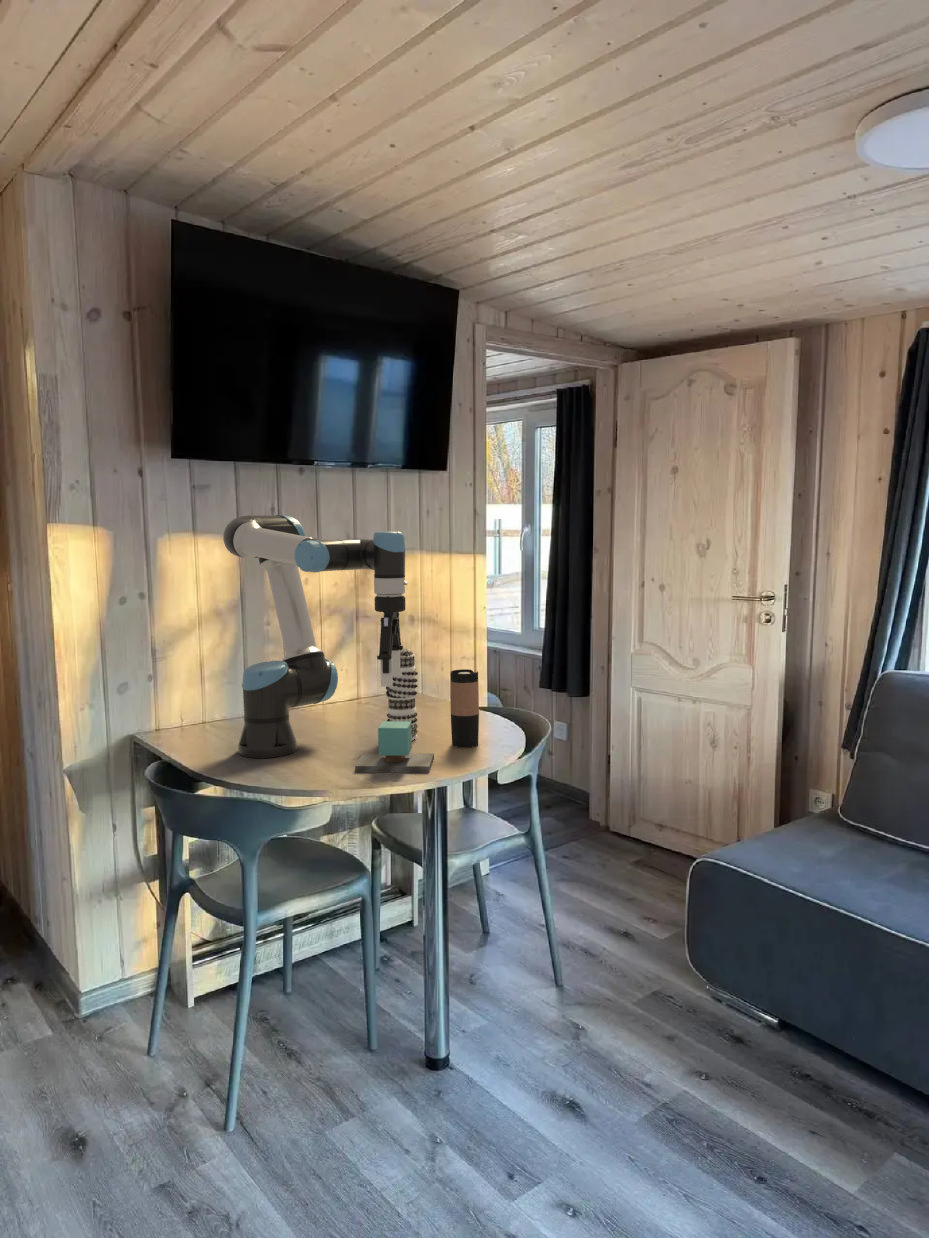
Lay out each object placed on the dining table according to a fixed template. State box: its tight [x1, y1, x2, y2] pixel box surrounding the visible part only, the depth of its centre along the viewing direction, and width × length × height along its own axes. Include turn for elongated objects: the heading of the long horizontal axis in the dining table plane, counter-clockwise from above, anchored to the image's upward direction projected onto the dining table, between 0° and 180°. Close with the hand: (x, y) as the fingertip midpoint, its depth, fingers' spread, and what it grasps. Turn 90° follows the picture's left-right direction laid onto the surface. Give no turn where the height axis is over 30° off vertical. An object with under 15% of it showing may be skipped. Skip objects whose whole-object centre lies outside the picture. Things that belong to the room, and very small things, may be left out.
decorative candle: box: [385, 648, 419, 741], centre depth 240 cm, size 9×9×25 cm
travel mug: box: [450, 668, 480, 748], centre depth 232 cm, size 8×8×20 cm
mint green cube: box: [377, 720, 413, 756], centre depth 213 cm, size 7×7×7 cm
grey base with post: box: [354, 752, 435, 774], centre depth 213 cm, size 18×12×10 cm, turn 87°
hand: (390, 681), depth 212 cm, fingers open, 13 cm apart
